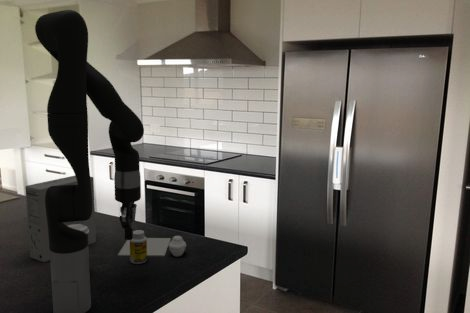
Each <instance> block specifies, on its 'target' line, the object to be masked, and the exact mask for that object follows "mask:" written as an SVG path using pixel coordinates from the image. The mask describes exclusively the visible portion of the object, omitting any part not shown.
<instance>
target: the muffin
mask: <svg viewBox="0 0 470 313" xmlns="http://www.w3.org/2000/svg"><path fill="white" fill-rule="evenodd" d="M186 247H187V243H186V241H184V239H183V236H181V235H175V236H172V238H171V240H170V243H169V245H168V248H169V251H170V252H171V254H172V256H173V257H176V258H177V257H181V256H183V255H184V252H185V250H186Z"/></svg>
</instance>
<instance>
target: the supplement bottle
mask: <svg viewBox="0 0 470 313" xmlns="http://www.w3.org/2000/svg"><path fill="white" fill-rule="evenodd" d="M147 238H148V237H147V236H145V230H142V229H136V230H133V238H132V240H130V256H129V261H130V263H132V264H135V265H139V264H145V263H146V262H147V260H148V256H147Z"/></svg>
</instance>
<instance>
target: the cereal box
mask: <svg viewBox="0 0 470 313" xmlns="http://www.w3.org/2000/svg"><path fill="white" fill-rule="evenodd" d="M90 181H91V191H92V215H91V217H90V219H88V220H85V221H74V222H63V223H64V224H65V225H66V226H68V225H73V224H83V225H85V226H87V227H88V229H89V233H88V246H89V245H92V244H95V243H96V242H97V234H96V233H97V232H96V231H97V230H96V229H97V228H96V209H95V208H96V207H95V206H96V205H95V186H94V185H95V183H94V177H93V176H90ZM59 185H78V183H77V179H76V176H75V175H71V176H67V177H61V178H56V179H53V180H47V181H43V182H38V183H33V184H28V185H25V199H26V213H27V227H28V242H29V256H30V258H31V259H32V260H33V259H34V260H36V261H39V262H41V263H46V262H48V261H49V262H50V250H49V235H48V224H47V216H46V208H45V194H46V191H47V189H48V188H49V187H51V186H59Z"/></svg>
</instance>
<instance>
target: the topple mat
mask: <svg viewBox="0 0 470 313" xmlns="http://www.w3.org/2000/svg"><path fill="white" fill-rule="evenodd" d="M146 238H147V257H165V256H166V253H167V250H168V248H169V243H170V242H171V241H172V238H171V237H146ZM125 241H126V242H124V244H123V246H122V248H121V249H120V251H119V252H118V254H117V257H130V240H125Z"/></svg>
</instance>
